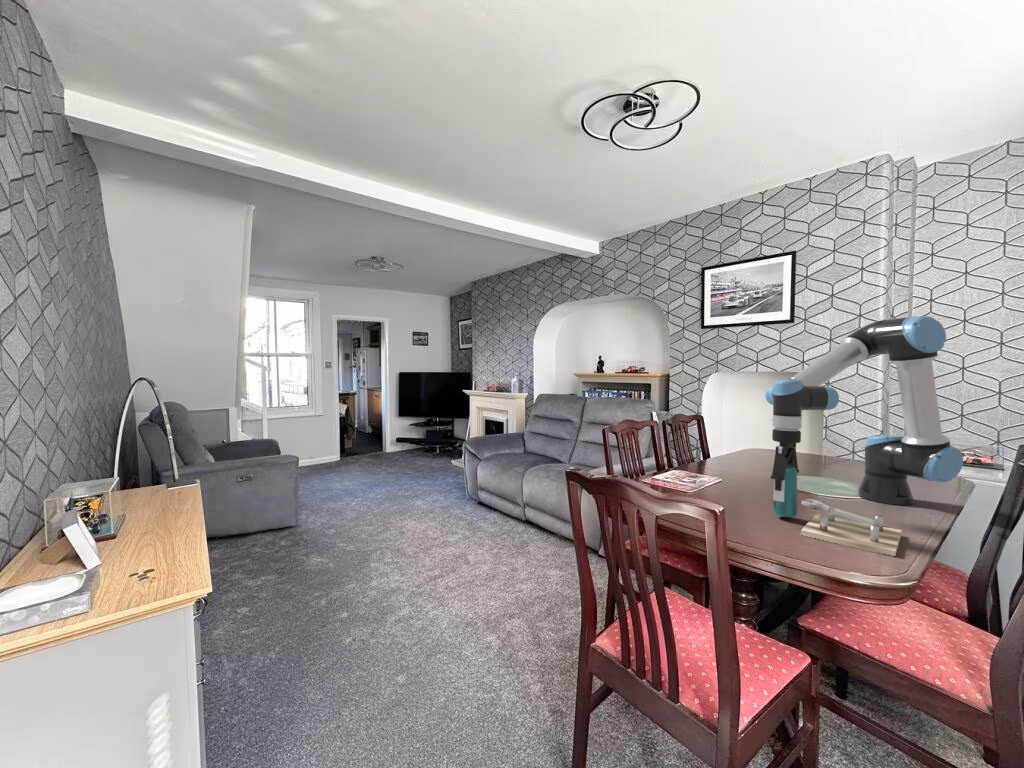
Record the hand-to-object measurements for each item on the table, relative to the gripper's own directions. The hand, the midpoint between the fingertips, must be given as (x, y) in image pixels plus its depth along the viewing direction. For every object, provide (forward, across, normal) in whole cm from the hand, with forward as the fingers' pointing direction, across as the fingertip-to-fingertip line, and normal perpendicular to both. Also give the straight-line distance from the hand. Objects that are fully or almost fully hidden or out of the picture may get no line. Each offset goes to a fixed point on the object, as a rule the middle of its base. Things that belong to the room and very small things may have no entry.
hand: (784, 496), depth 136 cm
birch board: (+7, +3, +17) cm, 19 cm away
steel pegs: (+5, +3, +17) cm, 18 cm away
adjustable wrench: (+7, -17, +11) cm, 22 cm away
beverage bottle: (+7, 0, 0) cm, 7 cm away
